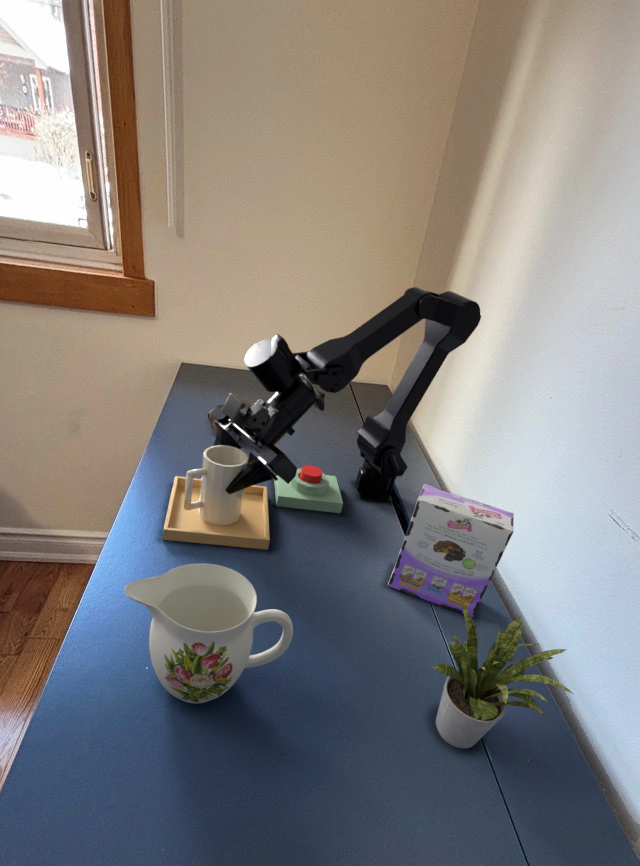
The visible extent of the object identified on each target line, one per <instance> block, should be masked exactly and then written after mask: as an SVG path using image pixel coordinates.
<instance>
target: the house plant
mask: <svg viewBox="0 0 640 866" xmlns="http://www.w3.org/2000/svg"><path fill="white" fill-rule="evenodd" d="M461 604H462V601H461ZM462 608H463V613H464V614H463V615H464V616H463V617H464V625H465V631H466V641H465V643H464V644H463V643H462V642H461V640H460V639H459V638H458V637H457V636H456V635H453V634H452V633H450V636H451V638H452V639H453V641H454V642H452V641H449V645H448V646H449V651H450V653H451V655H452V657H453V659H454V662H455V663H456V665H457V668H458V669H456V668H455V667H454V666H452V665H450V664H448V663H440V664H437V665H434V666H431V667H430V669H434V670H435V671H437V672H438V673H440V674H442V675H443V676H445V677H446V676H447V678H446V679H445V682H444V685H443V688H442V689H443V690H442V693H441V698H440V702H439V706H438V709H437V712H436V713H437V714H436V718H435V727H436V729H437V732H438V734H439V735H440V737H441V738H442V739H443V740H444V741H445V742H446V743H447V744H449V745H450V746H452V747H455V748H458V749H471V748H472V747H473V746H475V745H476V744H477V743H478V742H479V741H480V740H481V739H482V738H483V737H484V736H485V735H486V734H487V733H488V732H489V731H490V730H491V729H492V728H493V727H494V726H495V725H496V724H498V722H499V721H500V720H502V718H503V717H504V716H505V714H506V710H507V709H506V706H508V707H509V706H510V707H520V708H525V709H530V710H532V711H536V712H538V713H539V714H540V715H542V716H545V717H548V715H547V714H546V713H545V712H544V711H543V710H541V709H540V708H539V707H538V704H537V700H535V698H534V697H536V698H539V700H542V701H543V702H545V703H547V704H549V701H548V700H547V699H546V698H545V697H544V696H543V695H541V694H540V693H539V692H538V691H535V690H532V689H528V688H508V686H507V685H510V684H514V683H519V682H536V683H542V684H548V685H552V686H556V687H557V688H560V690H563V691H565V692H568V693H570V694H573V695H574V692H572V691H571V690H570V689H569V688H567V687H566V685H564V684H563V683H561V682H559V681H558V680H555V679H554V678H551V677H549V676H546V675H541V674H525V673H526V671H527V669H529V668H532V667H534V666H537V665H539V664H540V663H543V662H545V661H549V660H552V659H554V657H553V656H555V655H559V654H562V653H564V652H566V651H567V649H565V648H564V649H563V648H561V649H560V648H559V649H558V648H557V649H549V650H544V651H540V652H538V653H535V654H532V655H530V656H527V657H524V658H523V659H521V660H518V661H516V662H515V663H514V664H510V665H508V666H507V667H506V665H507V664H508V663H509V662H513V661H515V660H516V659H517V657H516V656H514V654H515V652H516V650H517V648H518V647H526V646H529V647H530V646H536V645H539V643H522V642H521V643H520V640H521V637H522V634H523V623H524V622H521V617H522V615H520V616H517V617H516V618H515V619H514V620H512V621H511V622H510V623H509V624H508V626H507V627H506V628H505V629H504V630H503V632H502V630H501V628H500V625H498V627H497V628H498V629H497V636H496V641H495V642H494V644H492V646H491V647H490V648H489V650H488V653H487V657H486V658H485V660H484V661H483V663H482V665H481V667H479V662H478V661H479V659H478V649H479V646H478V645H479V643H478V641H479V640H478V631H477V626H476V624H475V621H474V620H473V617H471V616H470V613H469V611H468V609H467V608H466V607H465V606H464V605H463V604H462ZM533 696H534V697H533ZM509 697H512V698H517V699H519V700H513V701H508V698H509ZM520 700H521V701H520Z"/></svg>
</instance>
